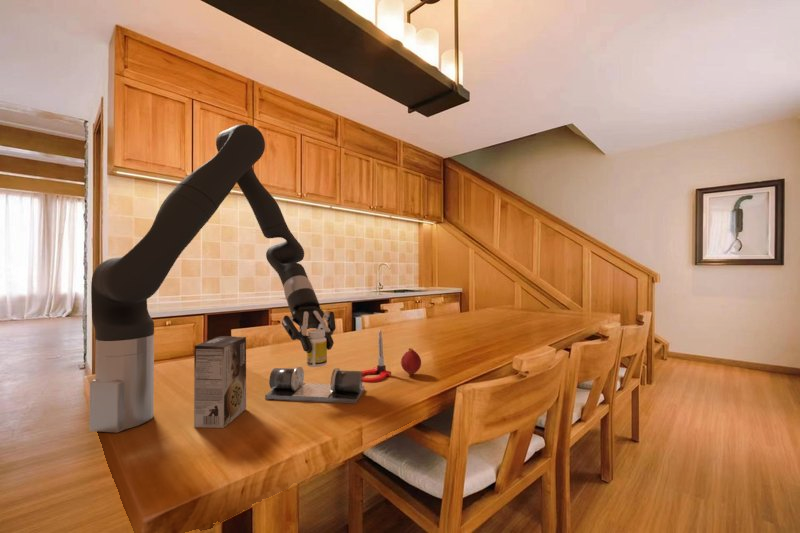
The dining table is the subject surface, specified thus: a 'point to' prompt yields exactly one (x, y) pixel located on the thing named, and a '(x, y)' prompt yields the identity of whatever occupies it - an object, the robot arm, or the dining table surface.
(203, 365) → the coffee box
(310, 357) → the supplement bottle
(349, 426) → the dining table surface
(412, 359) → the onion
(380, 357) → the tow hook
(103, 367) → the robot arm
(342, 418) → the dining table surface
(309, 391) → the twin cylinder plate
